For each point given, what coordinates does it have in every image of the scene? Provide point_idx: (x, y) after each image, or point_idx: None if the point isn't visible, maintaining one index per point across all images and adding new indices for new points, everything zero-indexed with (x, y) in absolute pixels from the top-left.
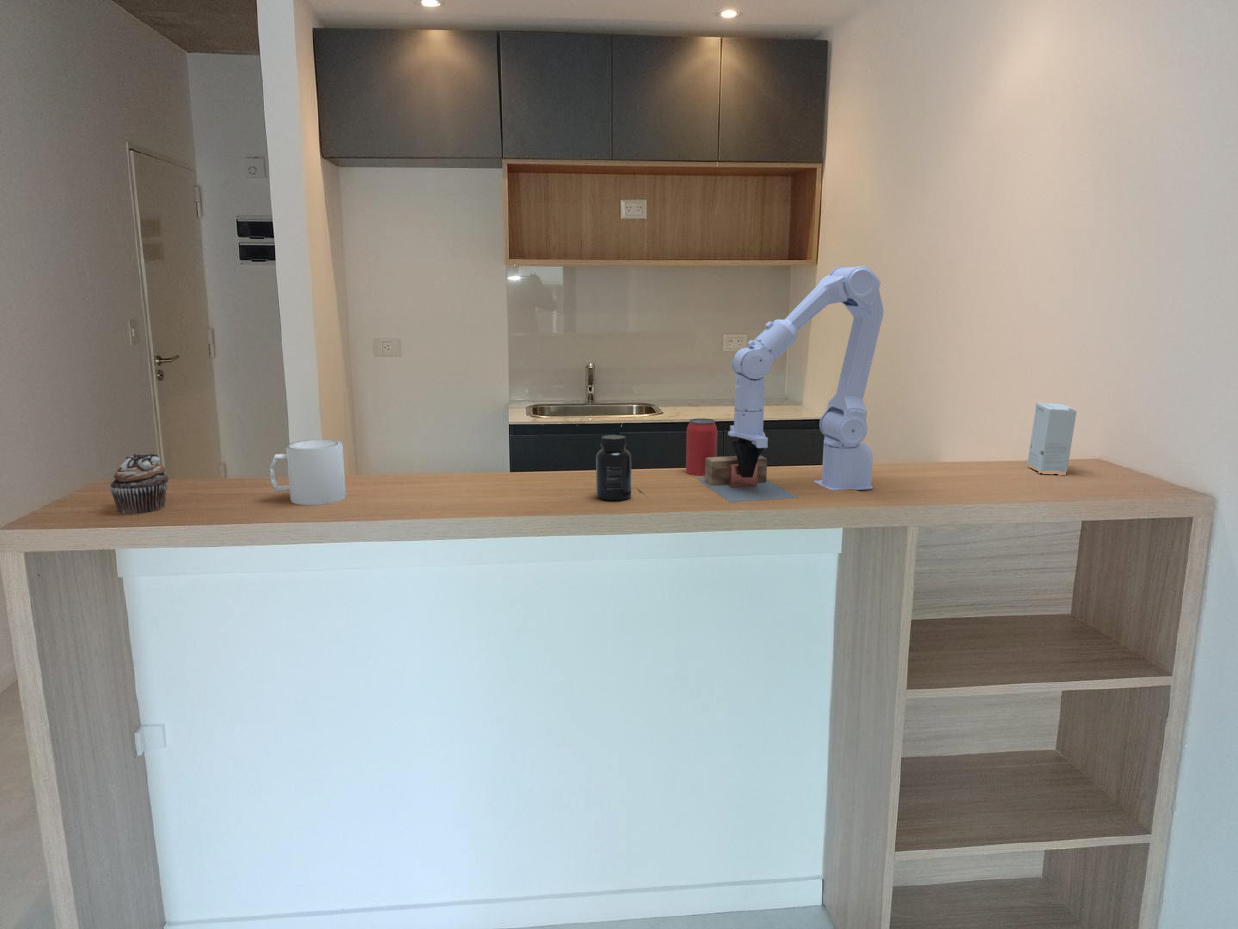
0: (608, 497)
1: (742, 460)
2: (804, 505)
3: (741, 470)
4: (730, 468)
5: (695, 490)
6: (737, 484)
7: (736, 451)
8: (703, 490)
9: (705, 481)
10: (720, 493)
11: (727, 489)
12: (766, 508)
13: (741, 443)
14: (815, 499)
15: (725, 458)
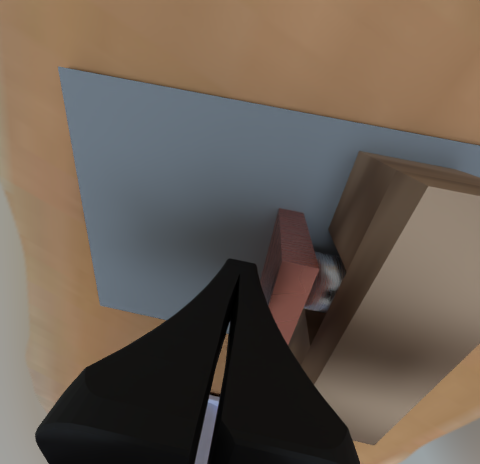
0: None
1: (185, 307)
2: (59, 284)
3: (227, 272)
4: (298, 253)
5: (376, 42)
6: (272, 237)
7: (254, 360)
8: (349, 89)
9: (446, 167)
10: (208, 107)
11: (259, 178)
12: (25, 178)
13: (113, 461)
14: (112, 332)
15: (432, 315)
